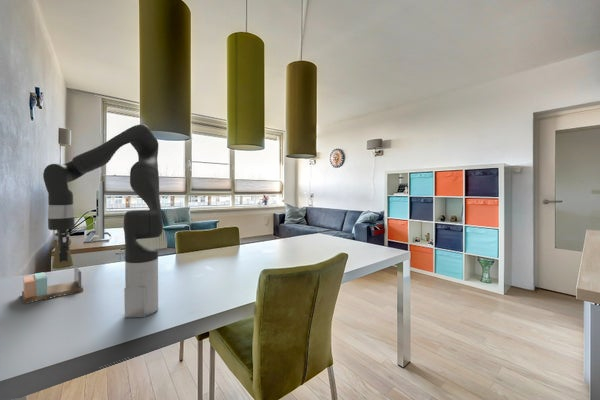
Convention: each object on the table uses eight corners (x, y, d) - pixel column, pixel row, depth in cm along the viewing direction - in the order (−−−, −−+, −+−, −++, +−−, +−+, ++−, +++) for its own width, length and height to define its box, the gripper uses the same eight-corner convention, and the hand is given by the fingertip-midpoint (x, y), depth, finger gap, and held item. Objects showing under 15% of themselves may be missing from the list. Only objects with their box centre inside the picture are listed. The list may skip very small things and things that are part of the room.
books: (25, 298, 91) (24, 281, 91) (23, 291, 97) (23, 275, 97) (47, 293, 95) (47, 277, 95) (44, 287, 101) (44, 272, 101)
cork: (75, 265, 103) (75, 237, 102) (55, 269, 98) (54, 240, 97) (69, 263, 106) (68, 236, 105) (49, 266, 101) (48, 238, 100)
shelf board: (23, 304, 90) (23, 299, 90) (22, 295, 98) (22, 291, 98) (83, 291, 102) (83, 287, 102) (77, 284, 110) (77, 280, 110)
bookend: (78, 287, 102) (78, 272, 102) (74, 281, 108) (74, 267, 108) (81, 286, 103) (81, 271, 102) (77, 281, 109) (76, 266, 108)
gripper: (77, 217, 99) (78, 262, 100) (71, 214, 108) (72, 255, 109) (50, 219, 93) (51, 266, 94) (46, 215, 103) (47, 259, 104)
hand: (62, 260), depth 102 cm, fingers closed on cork, 4 cm apart
